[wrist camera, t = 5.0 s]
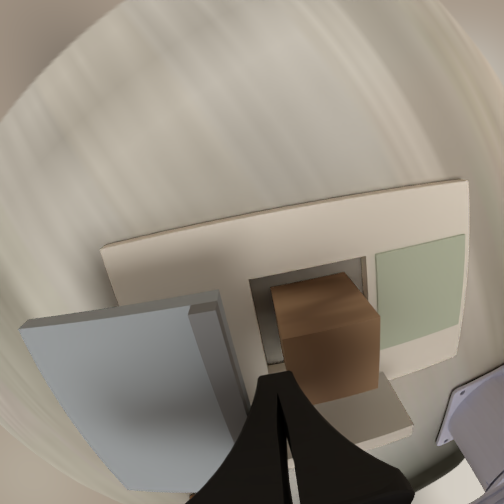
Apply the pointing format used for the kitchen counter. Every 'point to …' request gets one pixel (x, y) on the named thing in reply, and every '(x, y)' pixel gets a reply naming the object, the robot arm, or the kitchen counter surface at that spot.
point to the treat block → (328, 337)
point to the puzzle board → (320, 253)
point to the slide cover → (147, 386)
